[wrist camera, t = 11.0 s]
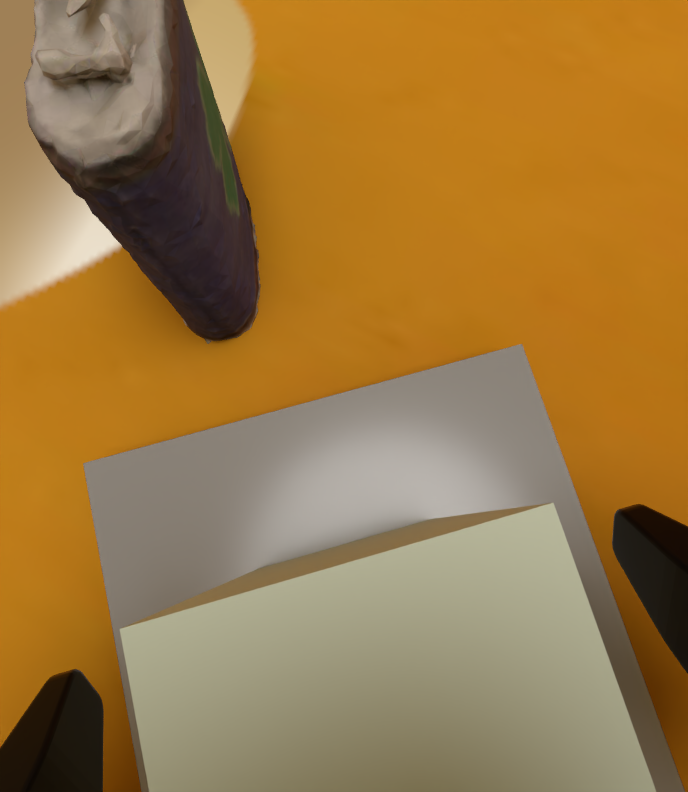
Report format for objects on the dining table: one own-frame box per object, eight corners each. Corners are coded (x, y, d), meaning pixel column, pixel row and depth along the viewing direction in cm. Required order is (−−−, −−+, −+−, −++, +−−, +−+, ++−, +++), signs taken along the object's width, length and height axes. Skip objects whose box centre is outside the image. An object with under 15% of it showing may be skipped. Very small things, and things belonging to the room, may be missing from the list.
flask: (137, 102, 20) (-91, -370, 9) (222, 85, 20) (89, -398, 10) (185, 354, 18) (-39, 109, 7) (278, 333, 18) (188, 63, 8)
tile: (654, 793, 15) (700, 832, 13) (201, 939, 14) (179, 1003, 12) (502, 364, 18) (521, 343, 16) (113, 471, 17) (83, 463, 15)
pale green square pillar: (487, 706, 14) (736, 1017, 5) (303, 763, 13) (222, 1199, 5) (430, 518, 15) (553, 502, 6) (257, 569, 14) (119, 629, 6)
